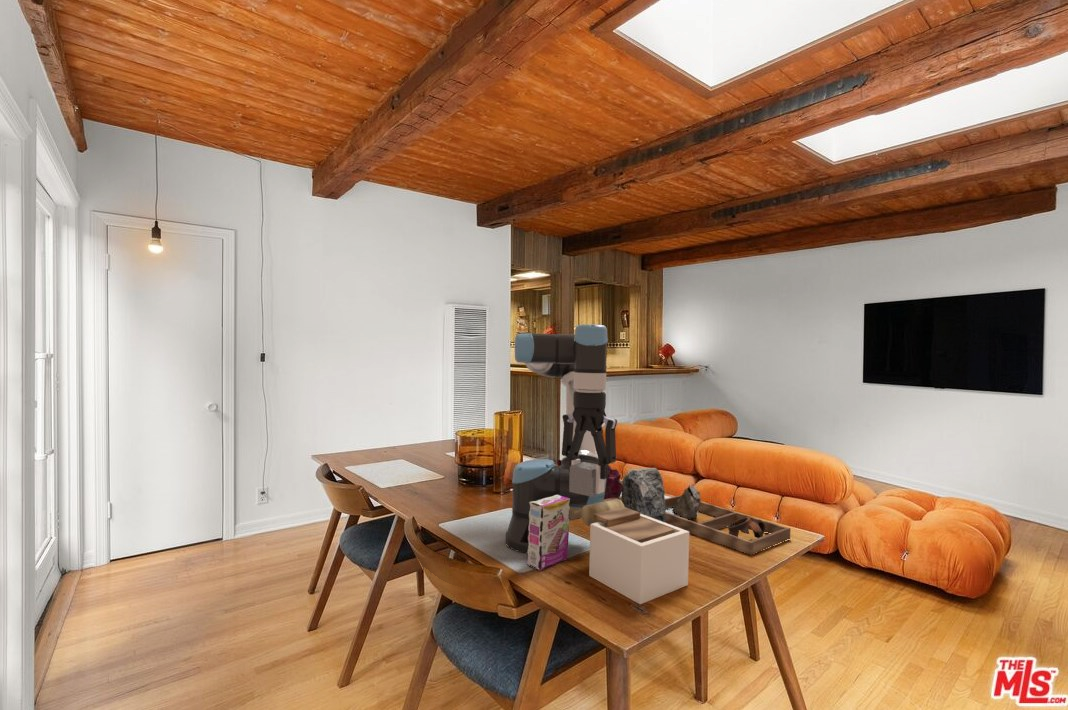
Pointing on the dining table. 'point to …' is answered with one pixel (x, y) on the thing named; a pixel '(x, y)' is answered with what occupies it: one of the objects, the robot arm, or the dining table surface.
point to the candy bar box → (548, 531)
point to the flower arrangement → (610, 483)
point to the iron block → (583, 479)
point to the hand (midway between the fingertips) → (587, 489)
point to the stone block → (644, 492)
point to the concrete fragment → (688, 503)
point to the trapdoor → (623, 521)
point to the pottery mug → (743, 526)
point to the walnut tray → (723, 520)
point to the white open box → (639, 562)
